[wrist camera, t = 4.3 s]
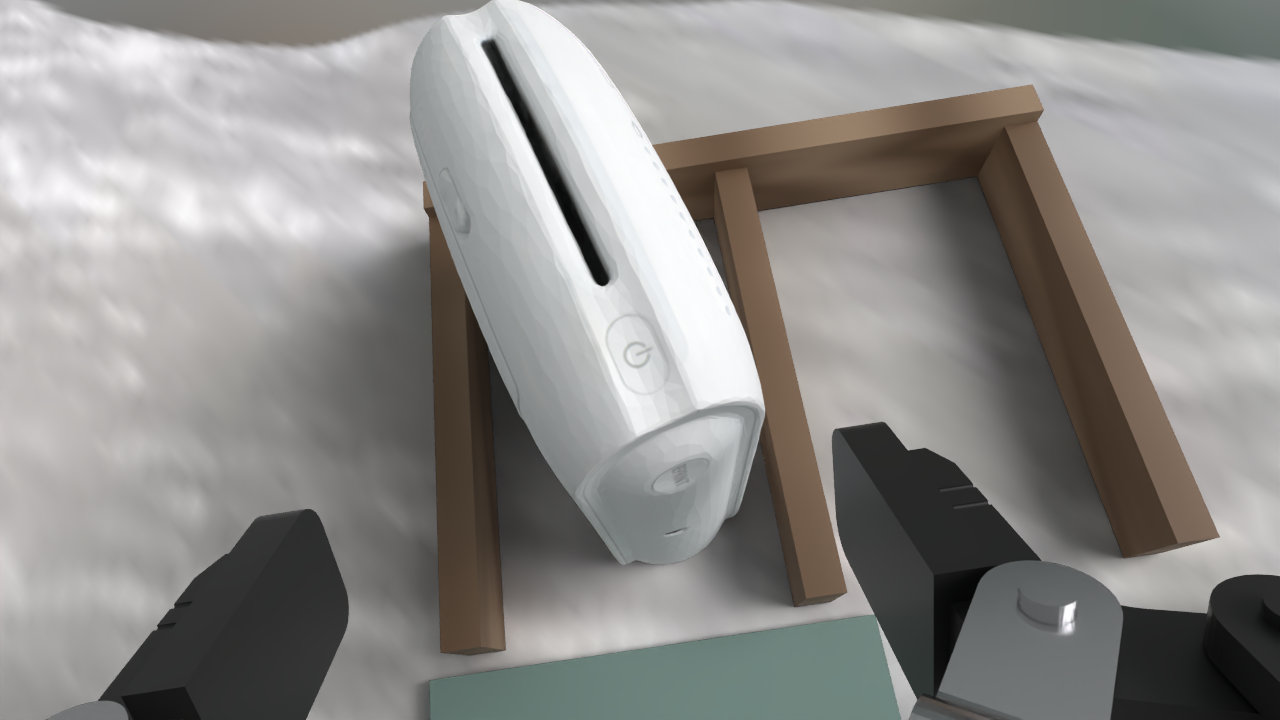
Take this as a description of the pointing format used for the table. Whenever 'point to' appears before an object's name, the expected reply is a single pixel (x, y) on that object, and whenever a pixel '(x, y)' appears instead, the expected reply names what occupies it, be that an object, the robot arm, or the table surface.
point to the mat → (694, 681)
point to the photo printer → (587, 280)
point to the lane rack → (732, 194)
